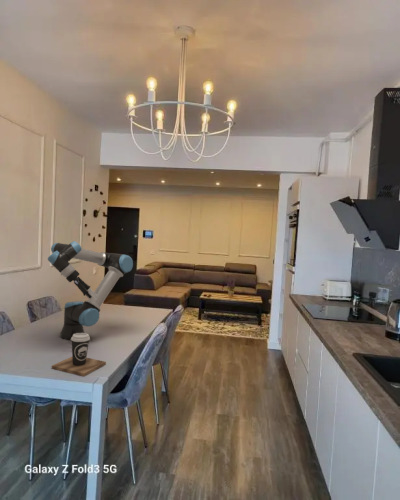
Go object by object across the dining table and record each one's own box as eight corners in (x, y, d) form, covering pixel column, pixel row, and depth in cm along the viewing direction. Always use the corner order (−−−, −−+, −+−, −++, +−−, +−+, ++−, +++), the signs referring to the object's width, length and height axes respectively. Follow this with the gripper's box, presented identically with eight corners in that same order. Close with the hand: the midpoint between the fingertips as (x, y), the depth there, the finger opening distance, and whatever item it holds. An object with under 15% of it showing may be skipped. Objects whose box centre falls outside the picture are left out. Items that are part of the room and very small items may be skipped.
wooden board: (51, 368, 178) (51, 365, 178) (75, 357, 195) (75, 355, 195) (83, 376, 171) (84, 373, 171) (105, 364, 188) (105, 361, 188)
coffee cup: (91, 360, 189) (92, 333, 188) (85, 367, 179) (87, 338, 178) (73, 359, 188) (74, 331, 188) (66, 366, 179) (68, 337, 178)
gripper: (67, 275, 220) (91, 299, 224) (62, 281, 196) (89, 307, 200) (76, 267, 221) (100, 291, 226) (73, 271, 197) (99, 298, 202)
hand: (95, 299), depth 213 cm, fingers open, 13 cm apart
